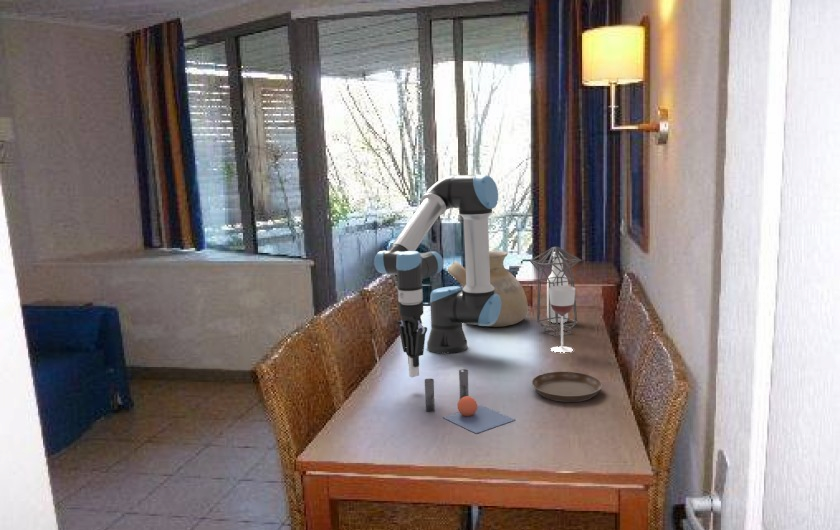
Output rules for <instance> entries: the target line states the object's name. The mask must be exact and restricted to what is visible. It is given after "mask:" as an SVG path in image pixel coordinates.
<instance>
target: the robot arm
mask: <svg viewBox="0 0 840 530" xmlns="http://www.w3.org/2000/svg"><path fill="white" fill-rule="evenodd" d="M498 201H499V190H498V187H497V184H496V181H495V180H494V179H493V178H492V176H490V175H485V174H459V175H457V174H451V175H447V176H444V177H443V178H441V179H439V180H438V181H437V182H435V183H434V184H433V185H431V186H430V187H429V188H428V189H427V190H426V192H425V193H424V194H423V195H422V197H421V200H420V203H421V204H420V205H419V206H418V207H417V209H416V210H415V211H414V213H413V215H412V216H411V217H410V219H409V220H408V222H407V223H406V225H405V226H404V227H403V229H402V230H401V231H400V233H399V235H398V236H397V237H396V238H395V240H394V241H393V243H392V244H391V246H390V247H389V248H388V250H384V249H383V250H380V251H378V252H377V253H376V254H375V256H374V260H373V261H374V263H373V264H374V268H375V270H376V271H377V272H378V273H379V274H384V275H392V276H393V275H394V276H395V275H396V276H397V291H398V292H397V297H398V302H399V303H398V314H399V316H400V317H401V320H398V321H396V323H397V328H398V330H399V335H400V340H401V346H402V351H403V353H406V356H407V360H408V361H407V363H408V376H409V377H410V378H416V377H418V376H420V356H423V355H424V352H425V351H424V350H425V343H427V344H426V347H427V348H426V349H427V350H428V351H429V352H432V353H436V354H437V353H438V354H456V353H461V352H464V351H465V350H467V349H468V341H467V340H468V339H467V338H466V334H465V332H464V328H463V324H466V325H474V326H475V325H476V326H479V327H489V326H491V325H493V324H494V323H495V322H496V320H497V319H498V317H499V314H500V311H501V298H500V296H499V295H497V294H495V289H494V287H493V286H492V285H491V284H490V264H489V251H490V241H489V240H490V238H489V217H490V216H491V215H492V214H493V209H494V208H496V206H497V205H498ZM452 208H453V209H458V212H459V213H458V214H459V216H460V217H462V219H463V234H464V257H465V258H464V260H465V269H466V285H465V286H464V287H463V286H462V287H461V286H459V285H455V286H450V285H449V286H444V287H443V286H442V287H438V288H436V289H433V290H432V291H431V292H430V300H429V304H430V305H429V306H430V325H431V326H430V327H431V328H430V332H429V336H428V340H427V342H425V341H426V334H427V331H428V328H427V326H424V325H423V322H422V318H421V317H422V316H423V314H424V303H423V300H424V293H423V291H424V290H423V280H424V279H426V278H430V277H434V276H436V275H437V274H439V273H440V272H441V271H442V270H443V268H444V259H443V257H442V255H441V254H440V253H438V252H437V251H427V252H419V251H417V249H418V248H419V246H420V244H421V243H422V241H423V240H424V238H425V237H426V235H427V234H428V233H429V231H430V229H431V228H432V227H433V225H434V224H435V223H436V220H438V218H439V216H442V215H443V214H445V212H446V211H447V210H449V209H452Z"/></svg>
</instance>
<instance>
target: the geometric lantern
mask: <svg viewBox="0 0 840 530" xmlns="http://www.w3.org/2000/svg"><path fill="white" fill-rule="evenodd" d="M554 252H555V255H556V256H557V257H553V253H554ZM561 254H562V255H561ZM543 255H544V256H543ZM558 255H559V256H560V257H559V256H558ZM541 256H543V257H542V258H541V259H538V258H539V257H541ZM549 256H550V257H549ZM548 257H549V260H547V259H548ZM557 258H558V260H559V263H553V262H555V260H556V259H557ZM559 258H561V259H562V263H561V262H560V259H559ZM553 259H554V260H553ZM582 261H583V259H581V258H579V257H578V256H575V254H572V253H570V252H568V251H566V250H565V249H562V248H561V247H560V246H552V247H551V248H549V249H547V250H545V251H544V252H542V253H541V254H539V255H537V256H535V257H533V258H532V259H531V260H530V264H532V266H533V267H534V268H535V270H537V271H538V277H537V300H536V301H537V306H536V307H537V308H536V309H537V311H536V323H537V324H539V325H540V326H541V327H543V330H544V334H547V335H551V336H554V337H561V334H559V332H561V330H558V329H561V323H560V324H558V318H561V317H558V313H556V312H555V317H553V318H550V295H549V318H548V319H547V318H543V319H540V318H541V317H540V315H541V311H540V310H541V290H542V289H541V288H542V287H541V286H542V283H543V282H544V283H546V284H547V283H549V288H550V284H553V286H555V284H554V281H555V279H556V278H557V282H555V283H557V286H558V283H561V286H563V283H562V282H568V283H569V282H570V285H571V286H572V287H575V278H573V273H572V269H573V268H574V266H575V265H577V264H578V263H579V262H582ZM555 264H560V266H561V268H562V264H563V265H565V266H566V268H565V269H564V267H563V268H562V271H561V270H560V269H559V268H558V267H557V266H555ZM571 264H572V265H571ZM536 265H537V266H536ZM552 265H553V266H554V267H556V268H557V269H558V270H559V271H560V272H563V275H562V277H558V275H559V274H558V275H556V274H555V273H554V274H555V275H556V277H551V278H555V279H554V281H553V282H550V280H549V279H550V278H548V277H549V276H548V275H547V273H546V271H545V269H546V268H549V269H551V272H552V271H553V270H552ZM567 271H568V274H569V276H570V277H567V276H566V277H567V278H566V277H563V276H564V275H566V272H567ZM540 272H541V274H540ZM553 272H554V271H553ZM560 272H559V273H560ZM543 274H544V276H545V278H542V277H543ZM558 278H561V282H558ZM562 278H566V279H567V280H568V281H562ZM547 279H548V281H549V282H547V281H546V280H547ZM577 312H578V311H577V301H576V299H575V300H574V305H573V314H574V319H572V318H569V317H568V318H565V316H563V320H564V319H567V321H572V322H571V323H563V330H564V331H563V332H566V331H567V333H563V336H567V335H571V334H572V328H574V327H575V326H576V325H577V324H578V315H577ZM555 318H556V324H552V323H551V320H550V319H555ZM548 320H549V322H548V324H546V323H545V321H548ZM543 321H544V323H543ZM551 324H552V325H551ZM564 327H565V328H564ZM568 330H569V331H568ZM551 331H552V332H554V334H553V333H550V332H551ZM556 332H557V333H556Z"/></svg>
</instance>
